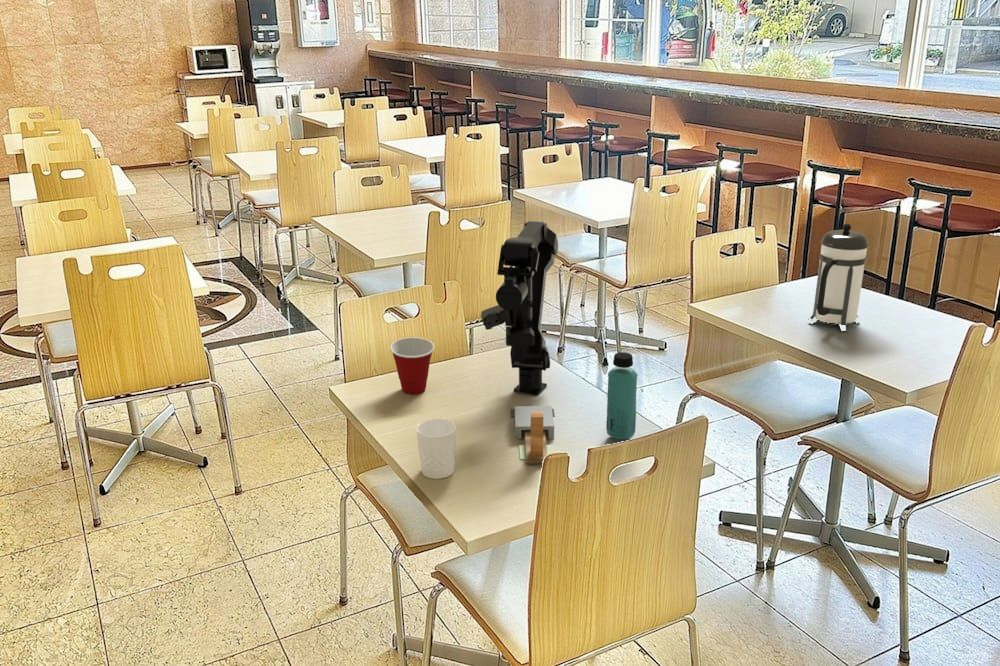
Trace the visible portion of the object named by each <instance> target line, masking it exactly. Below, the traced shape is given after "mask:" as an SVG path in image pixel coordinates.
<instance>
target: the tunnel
mask: <svg viewBox="0 0 1000 666" xmlns="http://www.w3.org/2000/svg"><path fill="white" fill-rule="evenodd" d="M514 409H515V418H514V428H515V429H514V430H515V431H514V432H515V440H522V431H524V430H531V412H543V430H545V431H546V430H547V437H548V440H549V439H550V440H554V439H555V420H554V417H553V413H552V409H553V408H552V405H525V406H524V405H522V406H521V405H520V406H519V405H518V406H517V405H516V406H514Z"/></svg>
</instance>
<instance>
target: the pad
mask: <svg viewBox="0 0 1000 666" xmlns="http://www.w3.org/2000/svg"><path fill="white" fill-rule="evenodd" d="M518 446H519V460H520V461H524V460H526V447H525V444H519V445H518ZM546 446H547V454H550V453H553V452H554V451H553V445H552V444H546Z"/></svg>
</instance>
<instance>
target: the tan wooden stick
mask: <svg viewBox="0 0 1000 666" xmlns="http://www.w3.org/2000/svg"><path fill="white" fill-rule="evenodd" d="M523 431H524V445H525V447H526V464H543V463H542V461H543V459H544V457H545V456H546V455H547V446H546V445H547V441H546V440H547V439H546V430H543V412H531V430H523Z"/></svg>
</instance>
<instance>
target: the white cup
mask: <svg viewBox="0 0 1000 666" xmlns="http://www.w3.org/2000/svg"><path fill="white" fill-rule="evenodd" d="M456 430H457V427H456V424H455V423H454V422H453V421H452V420H449V419H447V418H430V419H425V420H424V421H423V420H422V421H421V422H420V423H418V425H417V426H416V437H417V445H418V446H417V448H418V452H419V453H418V455H419V461H420V469H421V471H420V472H421V473H422V474H423V476H425V477H426V478H429V479H435V480H439V479H445V478H447V477H451V476H452V474H454V473H455V459H456V447H457V446H456V445H457V443H456V441H457V440H456V439H457V435H456V432H457V431H456Z"/></svg>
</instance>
